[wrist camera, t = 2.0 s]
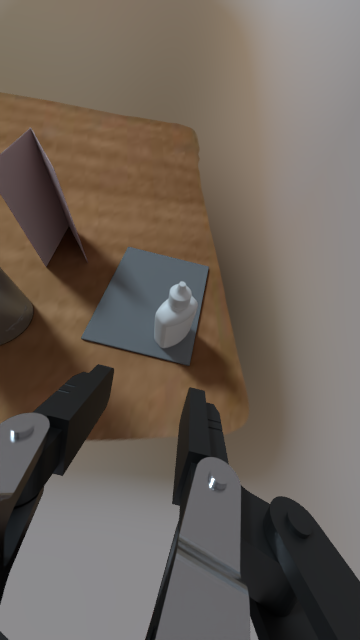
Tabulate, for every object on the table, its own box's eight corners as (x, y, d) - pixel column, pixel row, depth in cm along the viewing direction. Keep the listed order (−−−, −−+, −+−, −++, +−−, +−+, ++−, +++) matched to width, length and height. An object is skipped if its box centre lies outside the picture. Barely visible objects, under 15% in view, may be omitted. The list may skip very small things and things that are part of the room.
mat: (81, 339, 29) (81, 337, 29) (128, 248, 40) (128, 246, 39) (189, 365, 29) (189, 365, 29) (208, 268, 40) (208, 266, 39)
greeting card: (64, 224, 41) (24, 126, 28) (102, 230, 41) (79, 136, 28) (40, 266, 35) (-24, 166, 22) (84, 272, 35) (46, 178, 23)
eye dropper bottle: (192, 345, 31) (213, 299, 20) (155, 350, 30) (157, 303, 19) (187, 320, 33) (204, 267, 22) (152, 323, 32) (152, 269, 21)
